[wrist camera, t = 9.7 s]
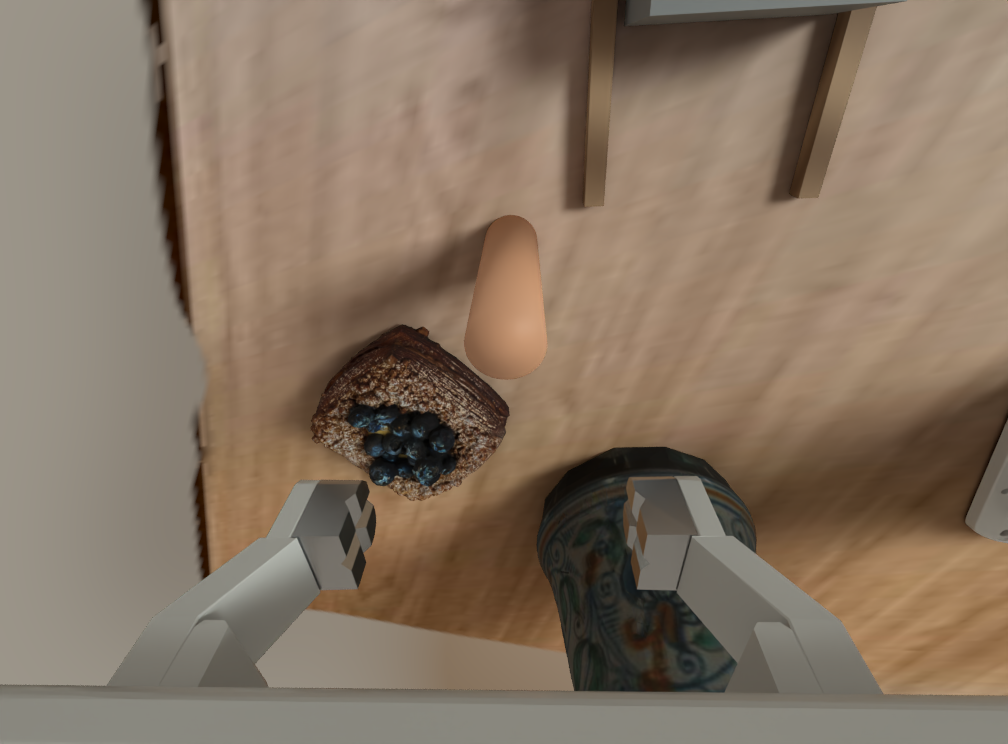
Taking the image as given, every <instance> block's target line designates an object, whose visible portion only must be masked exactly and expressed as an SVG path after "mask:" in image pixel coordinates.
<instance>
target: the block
mask: <svg viewBox="0 0 1008 744" xmlns="http://www.w3.org/2000/svg"><path fill="white" fill-rule="evenodd" d="M904 1H907V0H626V9H625V22H624V26H636V25H654V24H671V23H689V22H706V21H724V20H741V19H758V18H776V17H793V16H811V15H828V14H835V13H840V12H846V11H852V10H858V9H863V8H869V7H875V6H881V5H887V4H892V3H898V2H904Z"/></svg>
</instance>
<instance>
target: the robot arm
mask: <svg viewBox="0 0 1008 744" xmlns="http://www.w3.org/2000/svg"><path fill="white" fill-rule="evenodd" d="M626 491H627V495H628V500H627V501H626V502H625V503H624V510H623V526H624V533H625V538H626V543H627V545H628V546H629V547H630V548H631V549H632V550H633V551H632V557H631V565H632V569H633V574H634V578H635V582H636V587H637V589H640V590H676V591H677V593H678V595H679V596H680V597H681V598H682V599H683V600H684V602H685V603H686V604H687V605H688V606H689V607H690V609H691V610H692V611H693V612H694V613H695V614H696V615H697V617H698V618H699V619H700V620H701V621H702V622H703V624H704V625H705V626H706V627H707V628H708V629H709V631H710V632H711V633H712V634H713V635H714V636H715V638H716V639H717V640H718V641H719V642H720V643H721V644H722V646H723V647H724V648H725V649H726V650H727V651H728V653H729V654H730V655H731V656H732V657H733V658H734V660H735V661H736V662H737V663H738V664H737V666H736V668H735V671H734V673H733V675H732V677H731V679H730V681H729V684H728V686H727V688H726V690H725V692H724V693H711V692H622V691H537V690H536V691H534V690H532V691H530V690H447V689H445V690H444V689H443V690H442V689H352V688H348V689H347V688H344V689H343V688H269V687H268V685H267V682H266V680H265V679H264V677H263V676H262V675H261V673H260V671H259V670H258V669H257V667H256V666H255V663H256V662H257V661H258V660H259V659H260V658H261V657H262V656H263V655H264V654H265V652H266V651H267V650H268V649H269V648H270V647H271V646H272V645H273V644H274V642H275V641H276V640H277V639H278V638H279V637H280V636H281V635H282V634H283V633H284V632H285V631H286V630H287V628H288V627H289V626H290V625H291V624H292V623H293V622H294V621H295V620H296V618H298V616H299V615H300V614H301V613H302V612H303V611H304V610H305V609H306V608H307V607H308V606H309V604H310V603H311V602H312V601H313V600H314V599H315V598H316V597H317V596H318V595H319V594H320V590H344V589H358V587H359V584H360V581H361V577H362V574H363V571H364V568H365V565H366V560H365V557H364V554H363V553H364V552H365V551H366V550H367V549H368V548H369V547H370V546H371V545H372V542H373V539H374V535H375V527H376V514H375V509H374V505H373V504H372V503H370V502H369V501H368V500H367V498H368V495H369V492H370V491H369V488H368V485H367V482H366V481H363V480H300V481H299V482H297V483H296V484H295V485H294V487H293V489H292V491H291V493H290V495H289V496H288V498H287V500H286V502H285V504H284V506H283V507H282V509H281V511H280V513H279V515H278V517H277V518H276V520H275V522H274V524H273V526H272V528H271V529H270V531H269V533H268V535H267V537H266V538H259V539H257V540H256V541H255V542H253V543H252V544H251V545H249V546H248V547H247V548H245V549H244V550H243V551H241V552H240V553H239V554H237V555H236V556H234V557H233V558H232V559H230V560H229V561H228V562H226V563H225V564H224V565H222V566H221V567H220V568H218V569H217V570H216V571H214V572H213V573H212V574H210V575H209V576H208V577H206V578H205V579H204V580H202V581H201V582H199V583H198V584H197V585H195V586H194V587H193V588H192V589H190V590H189V591H187V592H186V593H185V594H183V595H182V596H181V597H179V598H178V599H177V600H175V601H174V602H173V603H171V604H170V605H168V606H167V607H166V608H165V609H163V610H162V611H160V612H159V613H158V614H156V615H155V616H154V617H152V619H151V620H150V622H149V623H148V625H147V626H146V628H145V629H144V631H143V632H142V634H141V635H140V637H139V638H138V640H137V641H136V643H135V644H134V646H133V647H132V649H131V650H130V652H129V653H128V655H127V656H126V657H125V659H124V661H123V662H122V663H121V665H120V666H119V668H118V669H117V671H116V672H115V674H114V675H113V677H112V678H111V680H110V681H109V683H108V684H107V686H74V685H72V686H71V685H0V744H1008V696H995V695H901V694H883V692H882V691H881V689H880V687H879V685H878V684H877V682H876V680H875V679H874V677H873V675H872V673H871V672H870V670H869V668H868V667H867V665H866V663H865V661H864V660H863V658H862V656H861V654H860V653H859V651H858V649H857V648H856V646H855V644H854V642H853V641H852V639H851V637H850V636H849V634H848V632H847V630H846V629H845V627H844V625H843V624H842V622H841V621H840V620H839V619H838V618H837V617H835V616H834V615H833V614H831V613H830V612H829V611H828V610H826V609H825V608H824V607H823V606H821V605H820V604H819V603H818V602H816V601H815V600H814V599H812V598H811V597H810V596H809V595H807V594H806V593H805V592H804V591H802V590H801V589H800V588H798V587H797V586H796V585H795V584H793V583H792V582H791V581H790V580H788V579H787V578H786V577H784V576H783V575H782V574H781V573H779V572H778V571H777V570H776V569H774V568H773V567H772V566H770V565H769V564H768V563H767V562H765V561H764V560H763V559H762V558H760V557H759V556H758V555H757V554H755V553H754V552H753V551H751V550H750V549H749V548H748V547H746V546H745V545H744V544H743V543H741V542H740V541H739V540H737V539H736V538H735V537H734V536H726V535H725V533H724V531H723V528H722V526H721V524H720V522H719V519H718V517H717V515H716V513H715V511H714V508H713V506H712V504H711V502H710V499H709V497H708V495H707V493H706V491H705V488H704V486H703V484H702V482H701V479H700V478H698V477H697V476H674V477H672V476H666V477H629V479H628V481H627V487H626ZM965 523H966V524H967V525H968V526H969V527H970V528H971V529H972V530H974V531H975V532H976V533H978V534H980V535H981V536H983V537H986V538H988V539H992V540H995V541H999V542H1004V543H1008V420H1007V422H1006V424H1005V427H1004V429H1003V431H1002V434H1001V436H1000V439H999V441H998V443H997V446H996V448H995V450H994V453H993V455H992V457H991V460H990V462H989V464H988V467H987V469H986V471H985V474H984V476H983V478H982V481H981V483H980V485H979V488H978V490H977V493H976V495H975V497H974V500H973V502H972V504H971V507H970V509H969V511H968V514H967V516H966V520H965Z"/></svg>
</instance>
